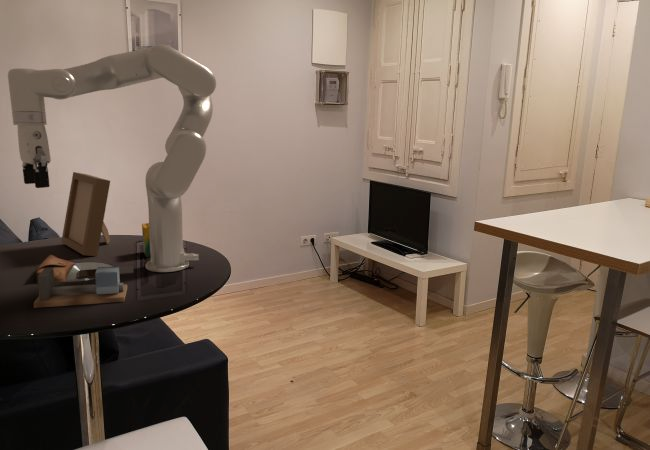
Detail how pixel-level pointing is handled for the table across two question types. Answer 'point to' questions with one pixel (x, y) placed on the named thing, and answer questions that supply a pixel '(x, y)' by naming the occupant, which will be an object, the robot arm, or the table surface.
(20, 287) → the table surface
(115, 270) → the grey slider block
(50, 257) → the sunglasses case
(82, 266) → the table surface
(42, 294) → the dark grey slab
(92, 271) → the smartphone
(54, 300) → the rail board
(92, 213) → the photo frame
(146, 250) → the crayon box
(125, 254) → the table surface
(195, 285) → the table surface
